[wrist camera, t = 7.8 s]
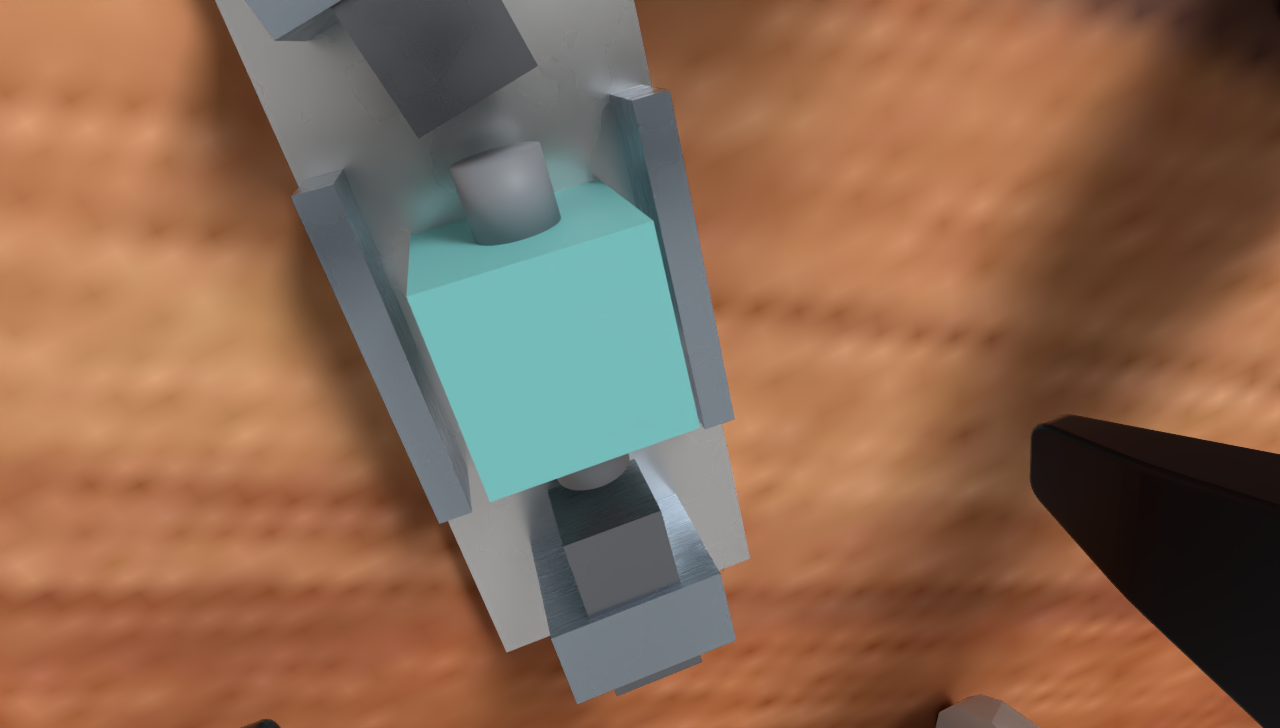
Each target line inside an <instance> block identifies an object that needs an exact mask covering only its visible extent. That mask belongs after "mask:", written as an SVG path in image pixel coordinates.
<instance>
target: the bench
mask: <svg viewBox="0 0 1280 728" xmlns="http://www.w3.org/2000/svg"><path fill="white" fill-rule="evenodd" d="M215 1H216V3H217V6H218V8H219V10H220V12H221V15H222V17H223V19H224V21H225V24H226V26H227V28H228V30H229V32H230V35H231V37H232V39H233V41H234V44H235V46H236V48H237V50H238V53H239V55H240V57H241V59H242V62H243V64H244V66H245V68H246V71H247V73H248V75H249V77H250V79H251V82H252V84H253V86H254V88H255V91H256V93H257V95H258V97H259V100H260V102H261V104H262V106H263V109H264V111H265V113H266V115H267V118H268V120H269V122H270V124H271V126H272V129H273V131H274V133H275V135H276V138H277V140H278V142H279V144H280V147H281V149H282V151H283V153H284V156H285V158H286V160H287V162H288V164H289V167H290V169H291V171H292V173H293V176H294V178H295V180H296V182H297V185H298V188H297V190H296V191H295V192H294V193H293V194H292V195H291V199H292V201H293V203H294V206H295V208H296V210H297V212H298V214H299V217H300V219H301V221H302V223H303V225H304V228H305V230H306V232H307V234H308V236H309V239H310V241H311V243H312V245H313V247H314V250H315V252H316V254H317V256H318V258H319V261H320V263H321V265H322V267H323V269H324V272H325V274H326V276H327V278H328V280H329V283H330V285H331V287H332V289H333V291H334V294H335V296H336V298H337V300H338V302H339V305H340V307H341V309H342V311H343V313H344V316H345V318H346V320H347V322H348V324H349V327H350V329H351V331H352V333H353V335H354V338H355V340H356V342H357V344H358V346H359V349H360V351H361V353H362V355H363V357H364V360H365V362H366V364H367V366H368V368H369V371H370V373H371V375H372V377H373V379H374V382H375V384H376V386H377V388H378V390H379V392H380V395H381V397H382V399H383V401H384V403H385V406H386V408H387V410H388V412H389V414H390V417H391V419H392V421H393V423H394V425H395V428H396V430H397V432H398V434H399V436H400V439H401V441H402V443H403V445H404V447H405V450H406V452H407V454H408V456H409V458H410V461H411V463H412V465H413V467H414V469H415V472H416V474H417V476H418V478H419V480H420V483H421V485H422V487H423V489H424V491H425V494H426V496H427V498H428V500H429V502H430V505H431V507H432V509H433V511H434V513H435V516H436V518H437V520H438V522H439V524H441V523H444V522H447V521H448V522H449V525H450V527H451V529H452V531H453V534H454V536H455V538H456V540H457V543H458V545H459V547H460V549H461V552H462V554H463V556H464V558H465V561H466V563H467V565H468V567H469V569H470V572H471V574H472V576H473V578H474V581H475V583H476V585H477V587H478V590H479V592H480V594H481V596H482V599H483V601H484V603H485V605H486V608H487V610H488V612H489V614H490V616H491V619H492V621H493V623H494V625H495V628H496V630H497V632H498V634H499V637H500V639H501V641H502V643H503V646H504V648H505V650H506V652H509V651H512V650H515V649H517V648H520V647H522V646H525V645H527V644H530V643H533V642H535V641H538V640H540V639H543V638H546V637H548V636H550V637H551V640H552V643H553V645H554V648H555V650H556V653H557V655H558V658H559V660H560V663H561V665H562V668H563V670H564V673H565V675H566V678H567V680H568V683H569V685H570V688H571V690H572V693H573V695H574V697H575V700H576V702H577V704H579V703H582V702H584V701H587V700H589V699H592V698H594V697H597V696H599V695H602V694H604V693H607V692H609V691H612V690H614V689H615V692H616V695H617V696H619V695H621V694H624V693H626V692H629V691H631V690H634V689H636V688H639V687H641V686H644V685H646V684H649V683H651V682H654V681H656V680H659V679H661V678H664V677H666V676H669V675H671V674H673V673H676V672H678V671H681V670H683V669H686V668H688V667H691V666H693V665H696V664H698V663H701V662H702V659H701V656H700V655H701V654H703V653H706V652H708V651H711V650H713V649H716V648H718V647H721V646H723V645H726V644H728V643H731V642H733V641H736V638H735V633H734V629H733V625H732V621H731V616H730V612H729V608H728V604H727V600H726V595H725V591H724V587H723V583H722V578H721V574H720V572H719V570H722V569H724V568H727V567H729V566H732V565H735V564H737V563H740V562H742V561H745V560H748V559H750V556H749V551H748V546H747V541H746V536H745V532H744V527H743V522H742V517H741V512H740V507H739V503H738V498H737V493H736V488H735V483H734V479H733V474H732V469H731V464H730V459H729V455H728V450H727V445H726V440H725V435H724V431H723V426H722V423H725V422H728V421H731V420H734V414H733V408H732V403H731V398H730V393H729V388H728V383H727V378H726V373H725V368H724V363H723V358H722V353H721V348H720V343H719V338H718V333H717V328H716V323H715V317H714V312H713V307H712V302H711V297H710V292H709V287H708V282H707V277H706V272H705V267H704V262H703V257H702V252H701V247H700V242H699V237H698V231H697V226H696V221H695V216H694V211H693V206H692V201H691V196H690V191H689V186H688V181H687V176H686V171H685V166H684V161H683V156H682V151H681V145H680V140H679V135H678V130H677V125H676V120H675V115H674V110H673V105H672V100H671V95H670V90H667V89H661V88H656V87H652V84H651V79H650V74H649V70H648V65H647V60H646V55H645V50H644V46H643V41H642V36H641V31H640V26H639V22H638V17H637V12H636V7H635V2H634V0H215ZM527 141H537V142H540V145H541V149H542V152H543V156H544V159H545V163H546V166H547V170H548V173H549V177H550V180H551V184H552V187H553V191H554V192H558V191H561V190H565V189H568V188H571V187H575V186H578V185H581V184H585V183H588V182H592V181H595V180H598V179H600V180H601V181H602V182H604V183H605V184H606V185H608V186H609V187H610V188H611V189H613V190H614V191H615V192H617V193H618V194H619V195H621V196H622V197H623V198H624V199H626V200H627V201H628V202H630V203H631V204H632V205H634V206H635V207H636V208H637V209H639V210H640V211H641V212H643V213H644V214H645V215H647V216H648V217H649V218H650V219H652V220H653V221H654V226H655V230H656V235H657V239H658V243H659V248H660V252H661V257H662V261H663V266H664V270H665V274H666V279H667V283H668V288H669V292H670V297H671V301H672V305H673V310H674V314H675V319H676V323H677V328H678V332H679V336H680V341H681V345H682V350H683V354H684V359H685V363H686V367H687V372H688V376H689V381H690V385H691V390H692V394H693V398H694V403H695V407H696V412H697V416H698V421H699V425H700V428H698V429H695V430H692V431H690V432H687V433H684V434H681V435H678V436H676V437H673V438H670V439H667V440H664V441H661V442H659V443H656V444H653V445H650V446H647V447H645V448H642V449H639V450H636V451H633V452H630V453H629V458H630V460H629V465H628V467H627V468H626V470H625V471H624V472H623V473H622V474H621V475H620V476H619V477H618V478H617V479H615V480H614V481H612V482H610V483H608V484H606V485H604V486H601V487H598V488H595V489H590V490H571V489H568V488H565V487H564V486H562V485H561V484H560V483H559V482H558V480H557V479H554V480H552V481H549V482H546V483H543V484H540V485H538V486H535V487H532V488H529V489H526V490H523V491H521V492H518V493H515V494H512V495H509V496H507V497H504V498H501V499H498V500H495V501H492V502H490V501H489V498H488V496H487V493H486V491H485V489H484V486H483V484H482V481H481V479H480V476H479V474H478V471H477V469H476V466H475V464H474V462H473V459H472V457H471V454H470V452H469V449H468V447H467V444H466V442H465V439H464V437H463V435H462V432H461V430H460V427H459V425H458V422H457V420H456V417H455V415H454V412H453V410H452V408H451V405H450V403H449V400H448V398H447V395H446V393H445V390H444V388H443V385H442V383H441V380H440V378H439V376H438V373H437V371H436V368H435V366H434V363H433V361H432V358H431V356H430V353H429V351H428V349H427V346H426V344H425V341H424V339H423V336H422V334H421V331H420V329H419V326H418V324H417V322H416V319H415V317H414V314H413V312H412V309H411V307H410V304H409V302H408V299H407V297H406V296H407V281H408V265H409V249H410V235H413V234H416V233H419V232H423V231H426V230H430V229H433V228H436V227H440V226H443V225H446V224H450V223H453V222H457V221H460V220H463V219H467V218H466V215H465V212H464V209H463V206H462V203H461V200H460V197H459V195H458V192H457V189H456V186H455V183H454V180H453V177H452V174H451V171H450V169H449V167H450V166H451V165H452V164H453V163H455V162H457V161H459V160H461V159H463V158H466V157H468V156H471V155H474V154H477V153H480V152H483V151H486V150H489V149H493V148H496V147H500V146H505V145H509V144H514V143H520V142H527Z"/></svg>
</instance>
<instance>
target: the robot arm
mask: <svg viewBox="0 0 1280 728" xmlns="http://www.w3.org/2000/svg"><path fill="white" fill-rule="evenodd" d="M1030 483H1031V487H1032V489H1033V492H1034V493H1035V495H1036V497H1037V498H1038V500H1039V501H1040V502H1041V503H1042V504H1043V505H1044V507H1045V508H1046V509H1047V510H1048V511H1049V512H1050V513H1051V515H1052V516H1053V517H1054V518H1055V519H1056V520H1057V521H1058V522H1059V524H1060V525H1061V526H1062V527H1063V528H1064V529H1065V530H1066V531H1067V533H1068V534H1069V535H1070V536H1071V537H1072V538H1073V539H1074V541H1075V542H1076V543H1077V544H1078V545H1079V546H1080V547H1081V548H1082V550H1083V551H1084V552H1085V553H1086V554H1087V555H1088V556H1089V557H1090V559H1091V560H1092V561H1093V562H1094V563H1095V564H1096V565H1097V567H1098V568H1099V569H1100V570H1101V571H1102V572H1103V573H1104V574H1105V576H1106V577H1107V578H1108V579H1109V580H1110V581H1111V582H1112V583H1113V585H1114V586H1115V587H1116V588H1117V589H1118V590H1119V591H1120V592H1121V593H1122V594H1123V595H1124V596H1125V597H1126V598H1127V599H1128V600H1129V601H1130V602H1131V603H1132V604H1133V605H1134V606H1135V607H1136V608H1137V609H1138V610H1139V611H1140V612H1141V613H1142V614H1143V615H1144V616H1145V617H1146V618H1147V619H1148V620H1149V621H1150V622H1151V623H1152V624H1153V625H1154V626H1155V627H1156V628H1158V629H1159V630H1160V631H1161V632H1162V633H1163V634H1164V635H1165V636H1166V637H1167V638H1168V639H1169V640H1170V641H1171V642H1172V643H1173V644H1175V645H1176V646H1177V647H1178V648H1179V649H1180V650H1181V651H1182V652H1183V653H1184V654H1185V655H1186V656H1187V657H1188V658H1189V659H1190V660H1192V661H1193V662H1194V663H1195V664H1196V665H1197V666H1198V667H1199V668H1200V669H1201V670H1202V671H1203V672H1204V673H1205V674H1206V675H1207V676H1209V677H1210V678H1211V679H1212V680H1213V681H1214V682H1215V683H1216V684H1217V685H1218V686H1219V687H1220V688H1221V689H1222V690H1223V691H1224V692H1226V693H1227V694H1228V695H1229V696H1230V697H1231V698H1232V699H1233V700H1234V701H1235V702H1236V703H1237V704H1238V705H1239V706H1240V707H1242V708H1243V709H1244V710H1245V711H1246V712H1247V713H1248V714H1249V715H1250V716H1251V717H1252V718H1253V719H1254V720H1255V721H1256V722H1257V723H1259V724H1260V725H1261V726H1262V727H1263V728H1280V454H1275V453H1270V452H1265V451H1260V450H1254V449H1249V448H1244V447H1239V446H1233V445H1228V444H1223V443H1218V442H1213V441H1207V440H1202V439H1197V438H1192V437H1186V436H1181V435H1176V434H1171V433H1165V432H1160V431H1155V430H1150V429H1144V428H1139V427H1134V426H1129V425H1124V424H1118V423H1113V422H1108V421H1103V420H1097V419H1092V418H1087V417H1082V416H1076V415H1070V414H1065V415H1060V416H1058V417H1055V418H1052V419H1050V420H1047V421H1044V422H1042V423H1039V424H1037V425H1036V426H1035V427H1034V429H1033V430H1032V432H1031V441H1030ZM241 728H280V726H279V725H278V724H277V723H276V722H275V721H273V720H271V719H263V720H260V721H257V722H254V723H252V724H249V725H247V726H244V727H241Z"/></svg>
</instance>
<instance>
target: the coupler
mask: <svg viewBox="0 0 1280 728" xmlns="http://www.w3.org/2000/svg"><path fill="white" fill-rule="evenodd" d="M449 169H450V171H451V174H452V177H453V180H454V183H455V186H456V189H457V192H458V195H459V197H460V200H461V203H462V206H463V209H464V212H465V215H466V218H467V219H463V220H460V221H457V222H453V223H450V224H446V225H443V226H440V227H436V228H433V229H430V230H426V231H423V232H419V233H416V234H413V235H410V249H409V265H408V281H407V296H406V297H407V299H408V302H409V304H410V307H411V309H412V312H413V314H414V317H415V319H416V322H417V324H418V326H419V329H420V331H421V334H422V336H423V339H424V341H425V344H426V346H427V349H428V351H429V353H430V356H431V358H432V361H433V363H434V366H435V368H436V371H437V373H438V376H439V378H440V380H441V383H442V385H443V388H444V390H445V393H446V395H447V398H448V400H449V403H450V405H451V408H452V410H453V412H454V415H455V417H456V420H457V422H458V425H459V427H460V430H461V432H462V435H463V437H464V439H465V442H466V444H467V447H468V449H469V452H470V454H471V457H472V459H473V462H474V464H475V466H476V469H477V471H478V474H479V476H480V479H481V481H482V484H483V486H484V489H485V491H486V493H487V496H488V498H489V501H490V502H492V501H495V500H498V499H501V498H504V497H507V496H509V495H512V494H515V493H518V492H521V491H523V490H526V489H529V488H532V487H535V486H538V485H540V484H543V483H546V482H549V481H552V480H554V479H557V480H558V482H559V483H560V484H561V485H562V486H564V487H565V488H568V489H571V490H590V489H595V488H598V487H601V486H604V485H606V484H608V483H610V482H612V481H614V480H615V479H617V478H618V477H619V476H620V475H621V474H622V473H623V472H624V471H625V470H626V468H627V467H628V465H629V460H630V458H629V453H630V452H633V451H636V450H639V449H642V448H645V447H647V446H650V445H653V444H656V443H659V442H661V441H664V440H667V439H670V438H673V437H676V436H678V435H681V434H684V433H687V432H690V431H692V430H695V429H698V428H700V425H699V421H698V416H697V412H696V407H695V403H694V398H693V394H692V390H691V385H690V381H689V376H688V372H687V367H686V363H685V359H684V354H683V350H682V345H681V341H680V336H679V332H678V328H677V323H676V319H675V314H674V310H673V305H672V301H671V297H670V292H669V288H668V283H667V279H666V274H665V270H664V266H663V261H662V257H661V252H660V248H659V243H658V239H657V235H656V230H655V226H654V221H653V220H652V219H650V218H649V217H648V216H647V215H645V214H644V213H643V212H641V211H640V210H639V209H637V208H636V207H635V206H634V205H632V204H631V203H630V202H628V201H627V200H626V199H624V198H623V197H622V196H621V195H619V194H618V193H617V192H615V191H614V190H613V189H611V188H610V187H609V186H608V185H606V184H605V183H604V182H602V181H601V180H600V179H598V180H595V181H592V182H588V183H585V184H581V185H578V186H575V187H571V188H568V189H565V190H561V191H558V192H554V191H553V187H552V184H551V180H550V177H549V173H548V170H547V166H546V163H545V159H544V156H543V152H542V149H541V145H540V142H537V141H527V142H520V143H514V144H509V145H505V146H500V147H496V148H493V149H489V150H486V151H483V152H480V153H477V154H474V155H471V156H468V157H466V158H463V159H461V160H459V161H457V162H455V163H453V164H452V165H451V166H450V167H449Z"/></svg>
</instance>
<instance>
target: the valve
mask: <svg viewBox="0 0 1280 728" xmlns="http://www.w3.org/2000/svg"><path fill="white" fill-rule="evenodd" d="M935 728H1040V727H1038V726H1037V725H1036V724H1034V723H1033V722H1031V721H1030V720H1029V719H1027V718H1026V717H1024V716H1023V715H1022V714H1020V713H1019V712H1017V711H1016V710H1015V709H1013V708H1012V707H1010V706H1009V705H1008V704H1006V703H1005V702H1003V701H1001V700H998V699H994V698H991V697H988V696H985V695H982V694H980V695H975V696H971V697H967V698H966V699H964V700H962V701H960V702H958V703H956V704H954V705H952V706H950V707H948V708H946V709H944V710H942V711H941V712H939V716H938V719H937V723H936V727H935Z"/></svg>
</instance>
